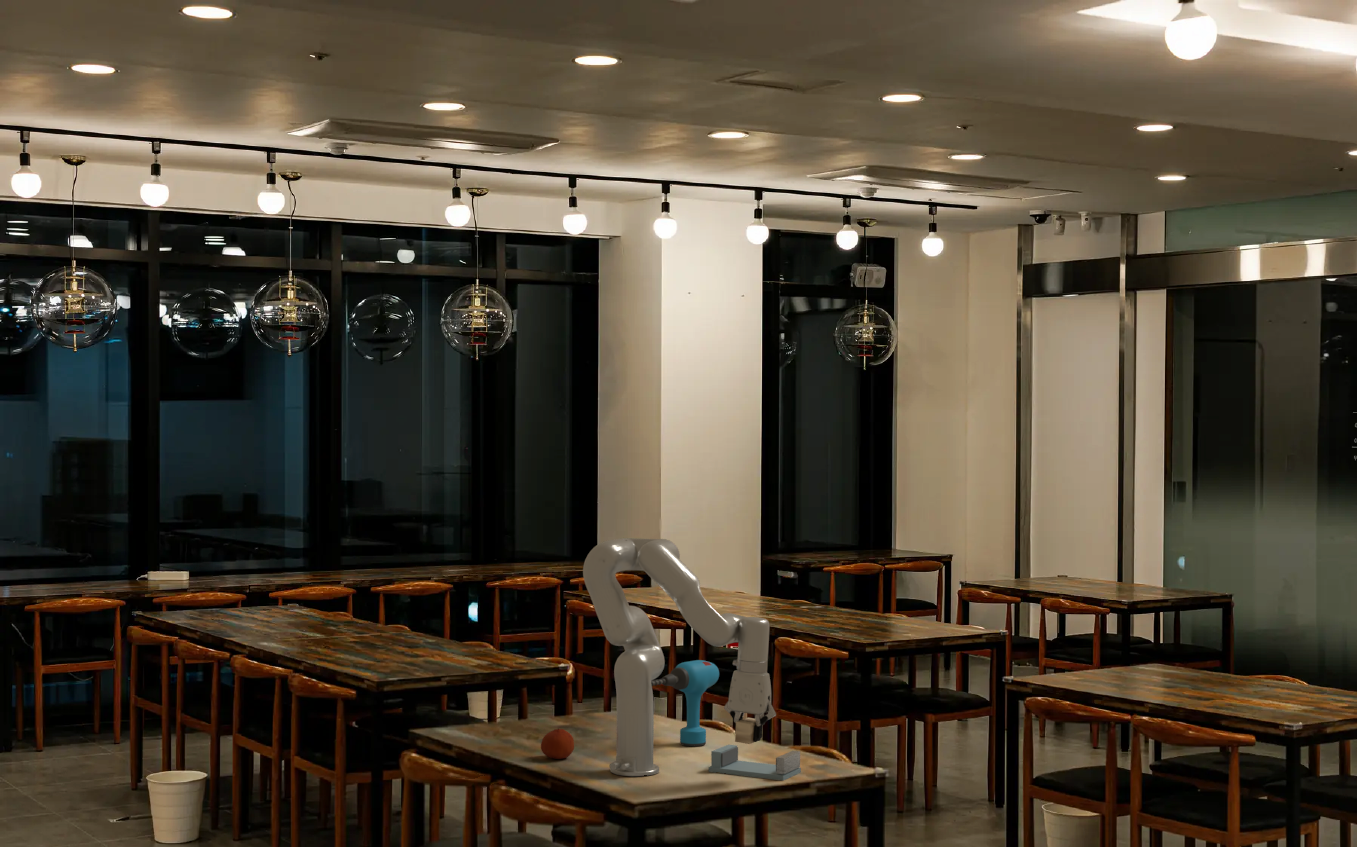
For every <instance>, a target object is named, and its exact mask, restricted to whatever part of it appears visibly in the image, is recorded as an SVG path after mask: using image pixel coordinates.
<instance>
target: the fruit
mask: <svg viewBox="0 0 1357 847" xmlns="http://www.w3.org/2000/svg"><path fill="white" fill-rule="evenodd" d="M574 749H575V740H574V737H573V735H572V734H571V733H570V732H569V731H567V730H565V729H563V728H556V729H555V728H554V729H553V730H551V731H549V732H547V733H545V735H544V736H543V738H542V739H541V743H540V750H541V752H542V753H543V754H544V756H546V757H547V758H549V759H554V760H555V759H557V760H562V759H563V760H565V759H566V758H568V757H570V756H571V755H572V753H573V752H574Z"/></svg>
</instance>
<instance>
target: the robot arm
mask: <svg viewBox="0 0 1357 847" xmlns="http://www.w3.org/2000/svg"><path fill="white" fill-rule="evenodd" d="M679 550H680V549H679V548H678V546H677V545H676V544H675V543H674V542H673V541H671V540H670V539H666V538H629V537H623V538H615V539H608V540H605V541H603V542H602V541H601V542H600V543H598V544H597V545H595V546H593V548H592V549H591V550H590V551H589V553H588V554H587V556H586V558H585V559H584V563H583V568H582V577H583V581H584V584H585V587H586V590H587V592H588V593H589V596H590V599H591V602H592V605H593V607H594V611H595V613H596V616H597V618H598V620H599V624H600V626H601V628H602V631H603V634H604V637H605V638H606V640H607V641H608V642H609V643H610V644H611V645H613V646H616V647H617V646H618V647H621V646H622V647H623V648H624V652H622V653H620V655H619V656H618V657H617V658H616V661H615V663H614V667H613V668H614V670H613V672H614V673H613V675H614V681H615V689H616V690H615V691H616V745H615V746H616V752H615V755H616V756H615V761H614V762H610V763H609V770H610V773H612V774H614V775H617V776H623V777H624V776H625V777H645V776H644V775H647V776H652V775H655V774H658V773H659V772H660V766H659V765H657V764H655V763H654V735H655V734H654V730H655V729H654V727H655V726H654V725H655V723H654V721H655V720H654V718H655V717H654V715H655V713H654V706H655V705H654V694H653V693H654V692H653V686H652V685H651V681H652V680H656V679H657V678H659V676H660V675H661V674H662V672H664V671H663V670H664V669H665V662H666V660H665V656H664V653H663V650H662V647H661V644H660V642H659V639H658V637H657V634H656V631H655V630H654V627H653V625H652V622H651V620H650V618H649V617H648V615H647V613H646V612H645V611H644V610H643V609H642V608H640V607H638V606H635V605H629V602H628V600H627V597H626V595H625V592H624V589H623V587H622V585H621V584H620V583H619V581H618V579H617V576H616V575H617V573H619V572H624V571H643V572H645V573H646V574H647V575H648V577H650V579H651V580H653V581H654V582H655V584H657V585H658V586H659V587H660V588H661V590H662V591H663V592H664V593H665V594H666V595H668V596H669V598H670V599H671V600H672V601H673V602H674V604H675V605H676V607H677V609H678V611H679V612H680V614H681V616H682V617H683V619H684V620H685V621H686V623H687V624H688V625H689V626H690V627H691V629H692V630H693V631H695V633H697V634H698V635H699V637H700V638H702V639H703V640H704V641H705V642H706V643H707V644H709V645H711V646H712V647H715V648H716V647H717V648H720V647H724V646H726V645H730V644H733V643H738V646H737V647H738V648H737V658H736V659H733V661H732V665H733V666H735V667H736V670H734V671H733V673H732V677H731V681H730V687H729V693H728V701H727V702H726V703H725V705H724V707H723V708H724V710H725V711H726V712H727V713H728V714H730V717H731V718H732V719H733V722H734V723H735V724H736V722H737V721H740V720H743V719H744V717H745V714H750V715H754V719H755V721H756V726H754V733H753V741H754V743H757V742H760V741H761V740H762V738H763V728H764V727H763V726H764V725H765V724H766V723H767V722H768V721H769V720H771V719H772V718H774V717H776V716H777V712H776V711H775V709H774V707H773V705H772V685H771V679H770V678H771V677H770V676H771V675H770V673H768V659H769V643H770V642H769V641H770V622H769V620H768V619H766V618H764V617H759V616H758V617H757V616H744V615H741V614H740V615H739V614H735V613H732V612H726V613H722V614H719V613H718V612H717V611H716V610H715V609H714V608H713V607H712V606H711V604H710V603H708V601H707V600H706V598H705V597H704V595H703V593H702V590H701V585H700V584H701V583H700V580H699V577H698V576H697V575H696V574H695V573H694V572H693V571H692V570H691V569H690V568H689V567H688V566H687V565H686V564H685V563H683V561H682V560H681V559H680V555H681V554H680V551H679ZM765 713H766V714H765ZM734 731H735V732H734V734H735V733H736V727H735V730H734Z"/></svg>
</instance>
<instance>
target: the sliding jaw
mask: <svg viewBox="0 0 1357 847" xmlns="http://www.w3.org/2000/svg"><path fill="white" fill-rule="evenodd" d="M775 765H776V772H777V774H786V773H788V772H790V771H792V770H795V769H797V768H801V751H799V750H791V751H788V752H786V753H784V754H782V755H779V756H777V757H776V758H775Z"/></svg>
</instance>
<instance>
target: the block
mask: <svg viewBox="0 0 1357 847" xmlns="http://www.w3.org/2000/svg"><path fill="white" fill-rule="evenodd" d="M754 726H756V721H755V717H754V718H753V717H746V718H743V720H740V721H737V722H736V723H735V728H736V733H735V732H734V734H735V736H734V742H735V743H738V744H739V743H741V744H746V745H751V744H754V743H755V742H754V741H753V733H754Z"/></svg>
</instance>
